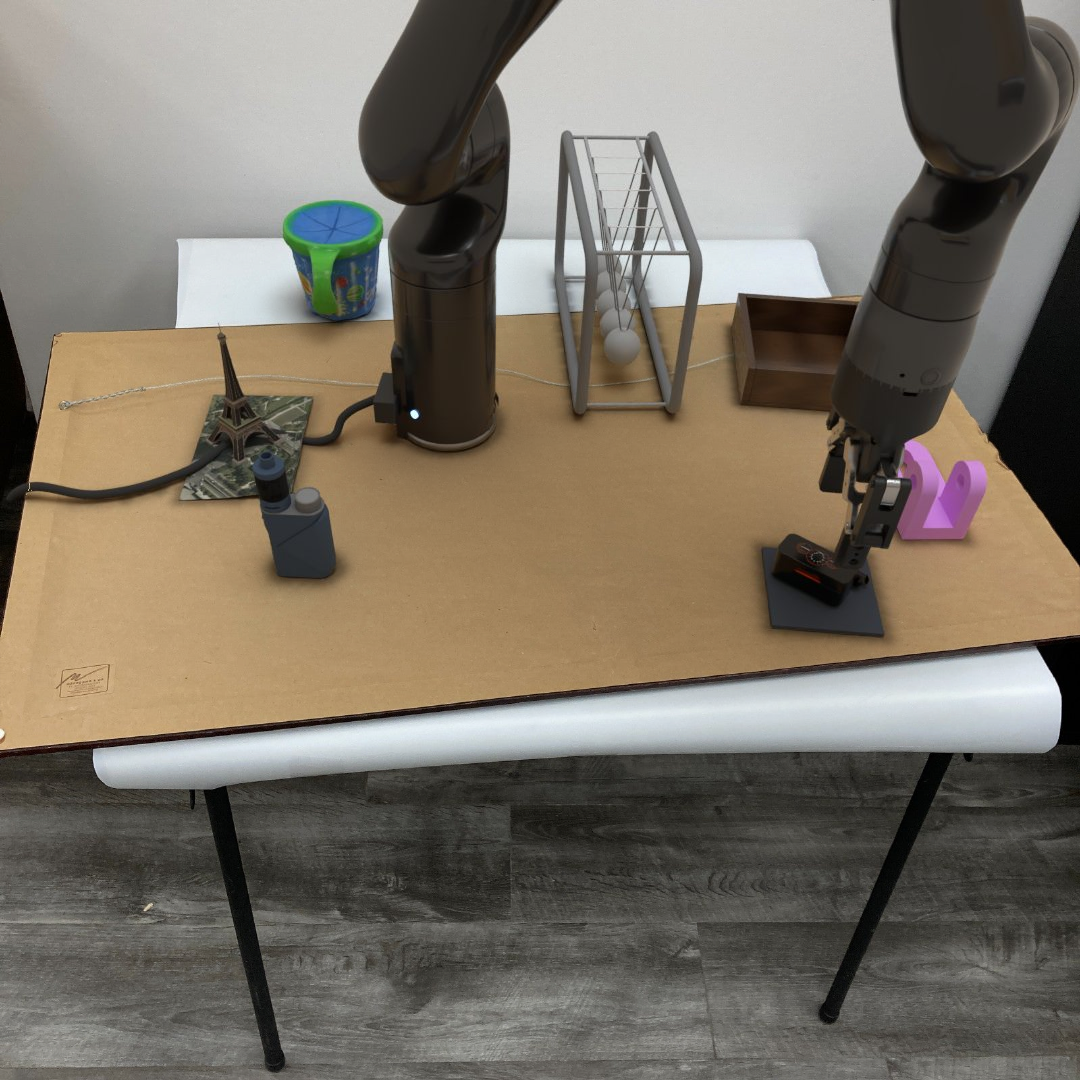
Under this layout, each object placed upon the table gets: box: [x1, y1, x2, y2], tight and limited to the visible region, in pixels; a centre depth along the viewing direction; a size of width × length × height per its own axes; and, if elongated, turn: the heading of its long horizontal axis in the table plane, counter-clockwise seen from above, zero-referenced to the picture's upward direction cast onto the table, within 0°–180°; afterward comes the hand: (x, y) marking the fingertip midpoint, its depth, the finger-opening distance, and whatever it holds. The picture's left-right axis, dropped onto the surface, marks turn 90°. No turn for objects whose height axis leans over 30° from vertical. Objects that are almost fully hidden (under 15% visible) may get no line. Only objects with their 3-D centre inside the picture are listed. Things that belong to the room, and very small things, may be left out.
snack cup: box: [282, 199, 384, 322], centre depth 107 cm, size 16×10×10 cm
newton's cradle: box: [553, 129, 704, 415], centre depth 102 cm, size 30×10×18 cm, turn 3°
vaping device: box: [252, 451, 337, 579], centre depth 77 cm, size 3×5×12 cm, turn 88°
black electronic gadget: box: [772, 533, 871, 607], centre depth 81 cm, size 5×7×3 cm, turn 52°
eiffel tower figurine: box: [178, 322, 314, 501], centre depth 88 cm, size 15×10×13 cm
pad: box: [761, 546, 886, 638], centre depth 82 cm, size 9×9×1 cm
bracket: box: [896, 439, 988, 540], centre depth 89 cm, size 13×6×7 cm, turn 3°
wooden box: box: [730, 292, 860, 412], centre depth 104 cm, size 14×15×4 cm
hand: (838, 526), depth 77 cm, fingers open, 8 cm apart
